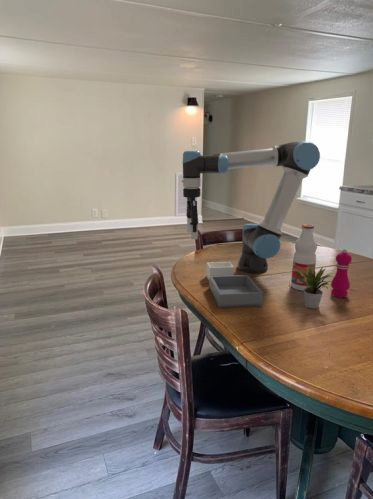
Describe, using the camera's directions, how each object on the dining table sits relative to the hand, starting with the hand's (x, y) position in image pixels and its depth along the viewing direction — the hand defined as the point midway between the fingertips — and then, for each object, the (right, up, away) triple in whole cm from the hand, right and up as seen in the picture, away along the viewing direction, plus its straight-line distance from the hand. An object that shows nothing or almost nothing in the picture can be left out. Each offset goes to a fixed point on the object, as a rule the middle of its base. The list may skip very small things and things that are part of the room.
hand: (192, 235), depth 168 cm
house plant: (+46, -29, -23) cm, 59 cm away
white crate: (+13, -20, +7) cm, 25 cm away
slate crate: (+17, -26, -14) cm, 34 cm away
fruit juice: (+48, -23, -2) cm, 54 cm away
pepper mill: (+62, -26, -10) cm, 67 cm away
